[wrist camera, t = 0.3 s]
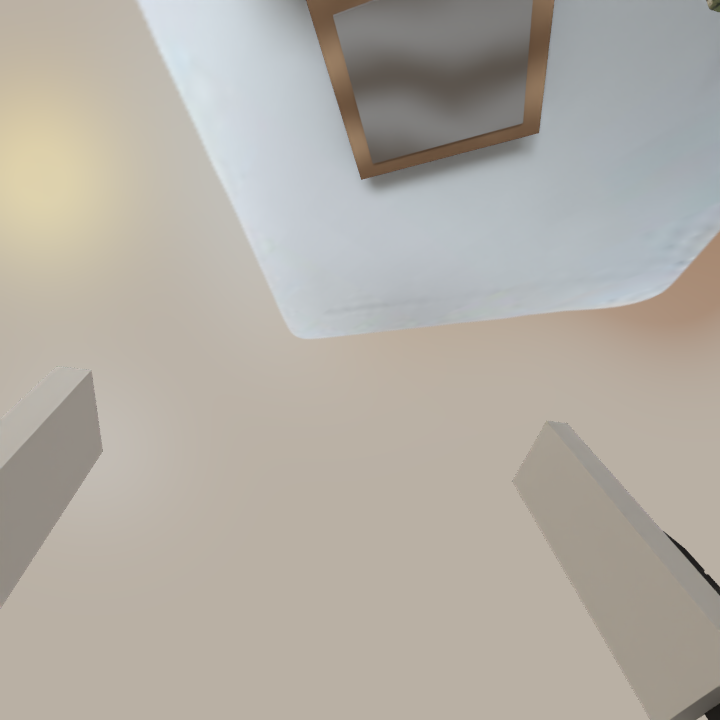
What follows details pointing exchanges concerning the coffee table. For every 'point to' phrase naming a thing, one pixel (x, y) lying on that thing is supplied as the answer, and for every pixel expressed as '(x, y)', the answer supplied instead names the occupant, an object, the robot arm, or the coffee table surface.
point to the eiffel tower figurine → (714, 5)
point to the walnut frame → (433, 74)
